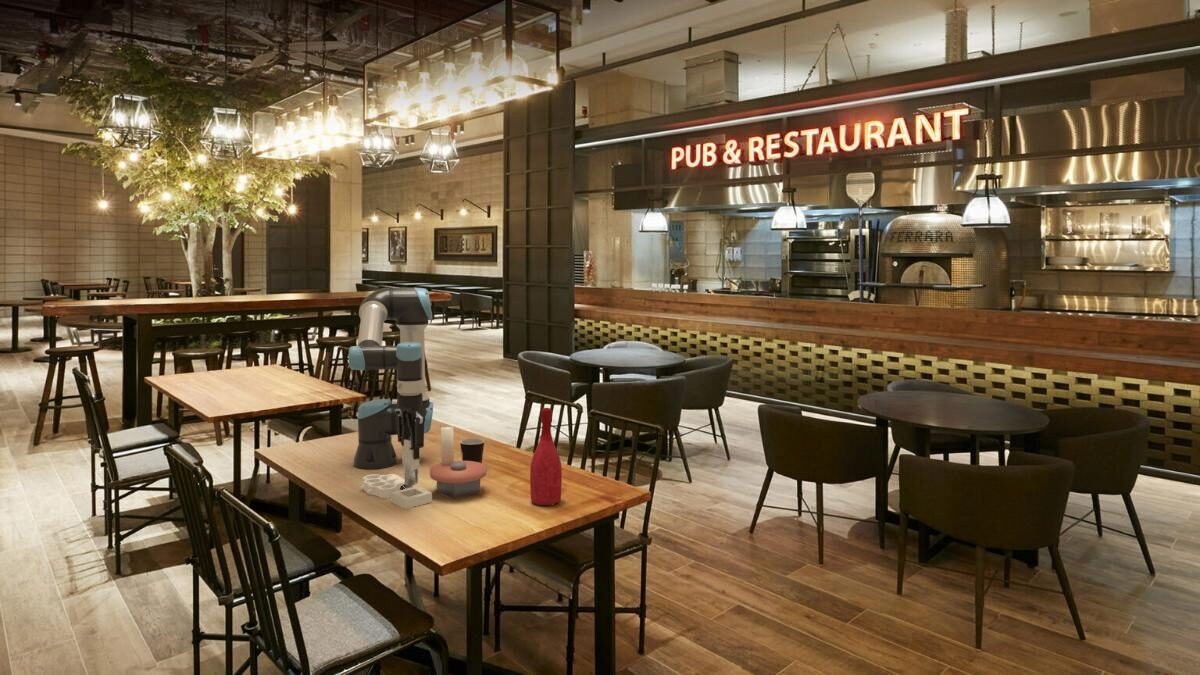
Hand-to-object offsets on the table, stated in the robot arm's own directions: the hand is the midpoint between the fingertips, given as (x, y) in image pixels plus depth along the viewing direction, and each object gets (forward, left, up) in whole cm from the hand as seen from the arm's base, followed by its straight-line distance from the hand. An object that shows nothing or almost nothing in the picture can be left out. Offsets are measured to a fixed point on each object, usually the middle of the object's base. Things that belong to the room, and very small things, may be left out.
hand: (411, 467), depth 222 cm
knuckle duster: (-17, 0, -12) cm, 21 cm away
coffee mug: (-18, +36, -11) cm, 42 cm away
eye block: (0, 0, -11) cm, 11 cm away
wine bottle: (+28, +31, -11) cm, 43 cm away
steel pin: (0, 0, -5) cm, 5 cm away
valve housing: (+2, +16, -11) cm, 20 cm away
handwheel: (+2, +16, -5) cm, 17 cm away
